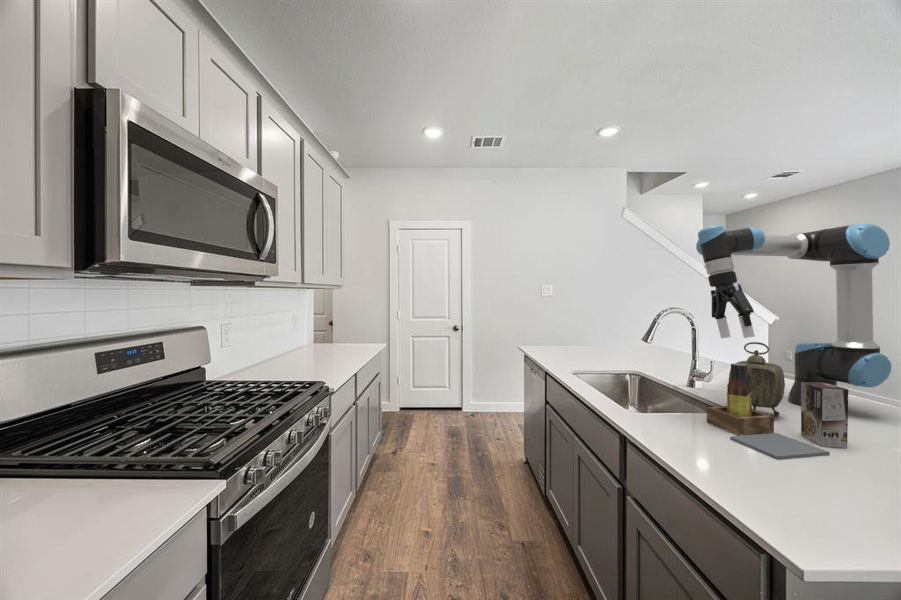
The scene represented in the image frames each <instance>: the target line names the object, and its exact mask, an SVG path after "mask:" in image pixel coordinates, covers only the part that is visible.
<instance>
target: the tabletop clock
mask: <svg viewBox="0 0 901 600" xmlns="http://www.w3.org/2000/svg"><path fill="white" fill-rule="evenodd" d="M749 345H761V346H764V347H765V348H766V349H767V350H766V351H764V352H759V350H758V349H757V350H754V352H753V351H749V350H748V349H747V347H748V346H749ZM743 349H744V351H745V352H746V353H748V354H751V355H749V357H748V358H747V359H746V360H742V361H741V360H740V361H737V362H736V363H737V364H745V365H747V370H746V377H747V378H746V379H747V381H748V383H749V386H750V389H751V393H752V394H751V396H752V410H755V411H757V407H758V408H764V409H765V408H767V409H771V410H772V411H773V415H774V417H778V416H780V412H779V411H777V410H776V409H775V408H777V407H778V406H779V405H780V404H781V402H782V401H783V398H784V395H785V387H786V384H785V383H786V382H785V374H784V371H783V368H782V366H780V365H778V364H776V363H770V362H766V359H765V358H764V357H763V356H761V355H766V354H767V353H769V352H770V348H769V346H768V345H767V344H765V343H763V342H756V341H752V342H748V343H746V344H745V345H744V346H743ZM728 375H729V376H728V383H729V382H730V380H731V378H732V377H731V376H732V369H731V368H730V370H729V374H728Z"/></svg>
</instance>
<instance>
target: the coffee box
mask: <svg viewBox="0 0 901 600" xmlns="http://www.w3.org/2000/svg"><path fill="white" fill-rule="evenodd" d="M848 421H849V389H848V388H845V387H842V386H838V385H837V386H835V385H832V384H829V383H825V382H801V405H800V424H801V425H800V435H801V436H802V437H804V438H805V439H808V440H809V441H811V442H813V443H815V444H816V445H819V446H821V447H828V448H829V447H830V448H841V449H842V448H844V449H847V448H848V435H849V434H848V431H849V430H848V429H849V427H848V426H849V425H848V423H849V422H848Z"/></svg>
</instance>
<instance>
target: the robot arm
mask: <svg viewBox="0 0 901 600" xmlns="http://www.w3.org/2000/svg"><path fill="white" fill-rule="evenodd" d="M697 239H698V240H697V242H696V244H695V246H696V247H695V248H696V251H697V253H698V254H699V255H701V256H702V259H703V262H704V268H705V270H706V274H707V275H708V277H707V279H708V283H709V287H711V288H714V287H715V289H714V290H713V289H712V290H710V296H711V318H714V319H715V320H716V323H717V327H718V331H719V335H720V339H727V338H731V332H730V329H729V324H728V320H727V315H726V314H725V313H726V309H727V303H730V304H731V306H732V307H733V308H734V310H735V311H736V312H737V313H738V314H737V317H738V320H739V324H740V328H741V332H742V336H743V339H747V338H752V337H753V338H754V337H755V333H754V331H755V330H754V327H753V324H752V319H751V315H752V313H754V312H755V311H754V308H753V306H752V305H751V303H750V302H749V300H748V298H747V296H746V295H745V293H744V291H743V289H742V285H741V284H740V283H738V278H737V277H738V276H737V274H736V271H734V270H735V266H734V262H733V258H732V256H748V257H750V256H752V257H753V256H754V257H755V256H757V257H758V256H759V257H762V256H763V257H787V258H788V259H791V260H801V261H802V260H803V261H804V260H805V261H813V262H814V261H815V262H829V266H830V268H832V269H833V270H834V271H835V274H836V275H835V276H836V278H835V279H836V283H835V284H836V288H835V289H836V329H837V330H836V340H835V341H834V342H810V343H808V342H800V343H797V344H796V346H795V349H794V382H793V384H792V386H791V389H790V392H789V393H788V398H787V399H788V400H787V401H788V402H790V403H792V404H795V405H798V406H801V382H825V383H829V384H832V385H835V386H838V385H837V384H838V383H837V382H839V383H844V384H848V385H852V386H855V387H863V388H875V387H878V386H880V385H882V384H883V383H884V382H885V381H887V379H888V378H889V376H890V374H891V372H892V362H891V360H890V359H889V357H888V356H887V355H885V354H882V353H881V347H880V345H879V344H877V343H876V342H875V341H874V311H873V309H874V306H873V305H874V304H873V302H874V301H873V269H874V268H875V267H877V266H878V265H879V264H880V262H879V261H880V260H879V259H880V258H881V257H883V256H885V255H886V254H887V251H889V249H890V238H889V235H888V233H887V232H886V231H885V230H884V229H882V227H880V226H879V225H877V224H874V223H867V222H866V223H856V224H855V223H854V224H849V225H843V226H837V227H832V228H824V229H820V230H814V231H810V232H808V231H807V232H795V233H792V234H790V235H781V234H779V235H774V234H767V235H766V234H765V233H764V231H763V230H762V229H761V228H759V227H755V226H754V227H753V226H752V227H745V228H739V229H734V230H726V229H725V227H724V225H722V224H717V225H711V226H707V227H705V228H702V229H701V230H699V231H698V233H697ZM735 283H737V284H735Z"/></svg>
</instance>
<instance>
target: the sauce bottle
mask: <svg viewBox="0 0 901 600" xmlns="http://www.w3.org/2000/svg"><path fill="white" fill-rule="evenodd" d="M730 369H732V376H731V377H732V378H731V380H730V382H729V381H728V383H727V387H726V389H727V390H726V392H727V393H726V406H727V413H729V414H732V415H735V416H738V417H748V416H752V410H753V406H752V396H751V394H752V393H751V389H750V386H749V383H748V381H747V379H746V378H747V377H746V370H747V365H745V364H737V362H735V363H730Z"/></svg>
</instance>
